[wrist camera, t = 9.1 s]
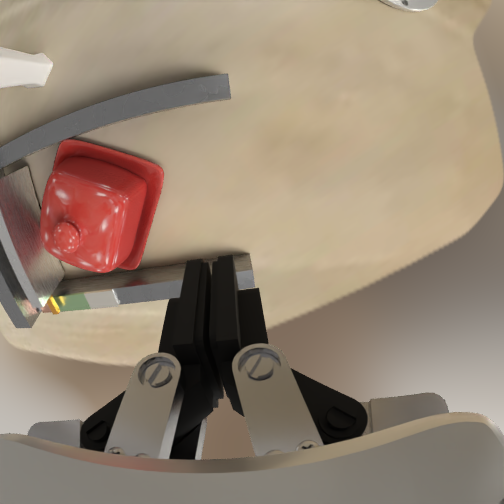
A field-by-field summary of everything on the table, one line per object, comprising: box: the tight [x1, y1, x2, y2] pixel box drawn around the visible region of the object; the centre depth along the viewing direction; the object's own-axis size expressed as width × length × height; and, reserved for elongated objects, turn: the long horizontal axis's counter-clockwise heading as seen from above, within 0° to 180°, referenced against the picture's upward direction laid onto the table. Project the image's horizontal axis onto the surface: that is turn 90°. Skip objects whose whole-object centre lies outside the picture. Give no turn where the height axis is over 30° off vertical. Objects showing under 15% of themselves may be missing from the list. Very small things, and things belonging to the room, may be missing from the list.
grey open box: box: [0, 74, 255, 328], centre depth 22 cm, size 19×28×6 cm, turn 96°
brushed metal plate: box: [0, 166, 65, 314], centre depth 22 cm, size 16×2×6 cm, turn 6°
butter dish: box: [40, 139, 164, 273], centre depth 21 cm, size 12×12×8 cm
